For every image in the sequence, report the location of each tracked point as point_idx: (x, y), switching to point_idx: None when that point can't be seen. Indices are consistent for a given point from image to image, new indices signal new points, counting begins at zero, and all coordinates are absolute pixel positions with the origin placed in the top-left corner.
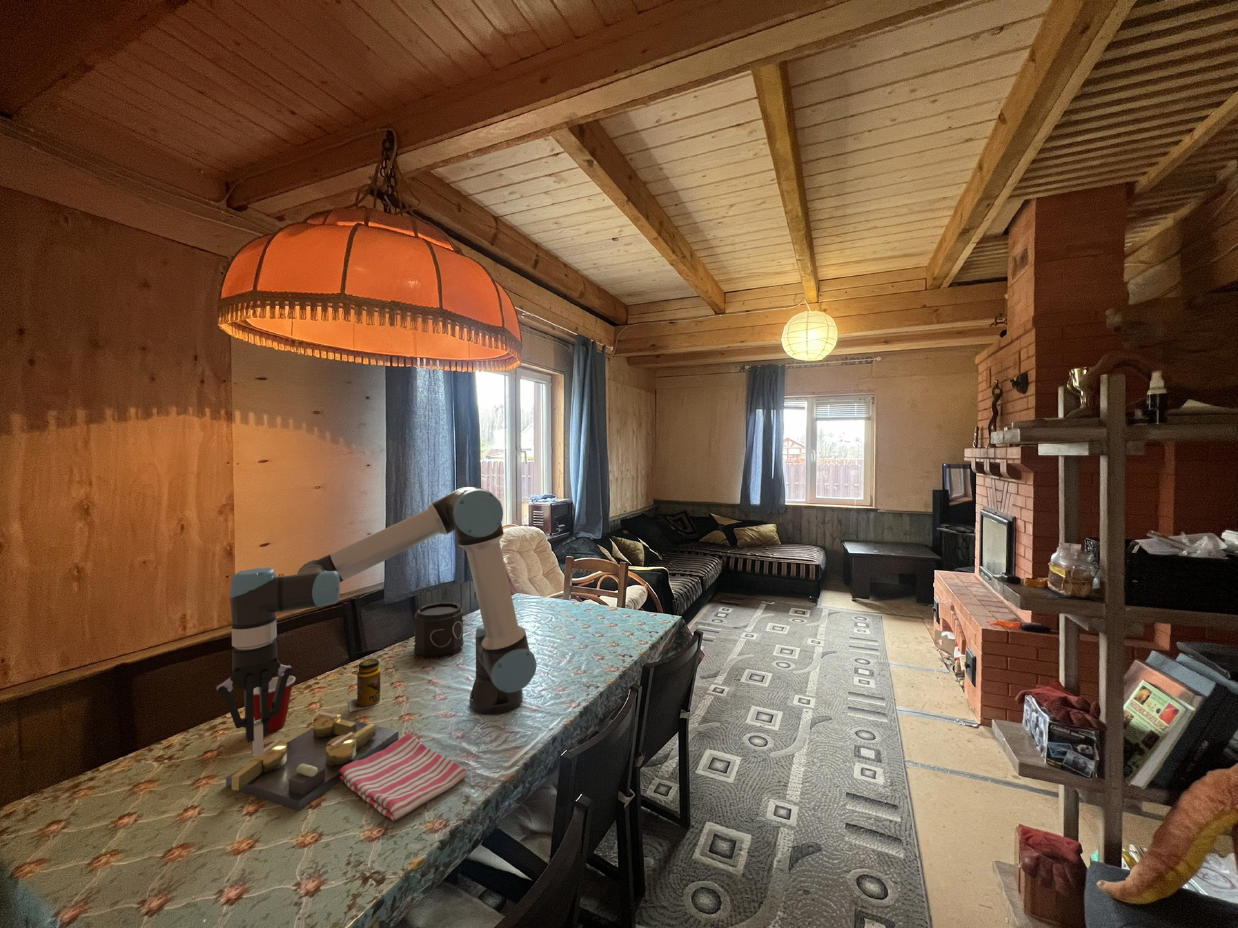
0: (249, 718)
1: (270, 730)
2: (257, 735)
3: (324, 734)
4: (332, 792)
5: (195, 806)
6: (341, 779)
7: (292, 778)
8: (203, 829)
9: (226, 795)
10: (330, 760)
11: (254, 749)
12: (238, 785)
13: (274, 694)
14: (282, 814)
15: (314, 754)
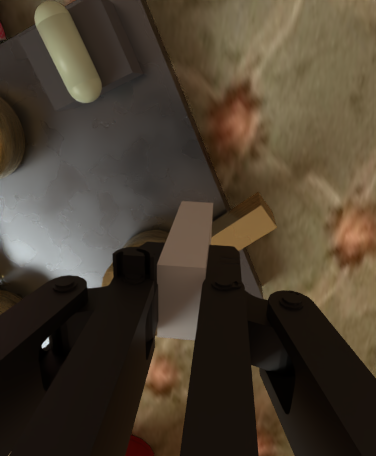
0: (227, 313)
1: (130, 440)
2: (193, 239)
3: (10, 297)
4: (39, 3)
5: (337, 254)
6: (1, 25)
7: (121, 64)
8: (355, 122)
9: (270, 243)
10: (5, 113)
11: (211, 219)
12: (259, 197)
13: (5, 447)
14: (178, 6)
15: (50, 224)
